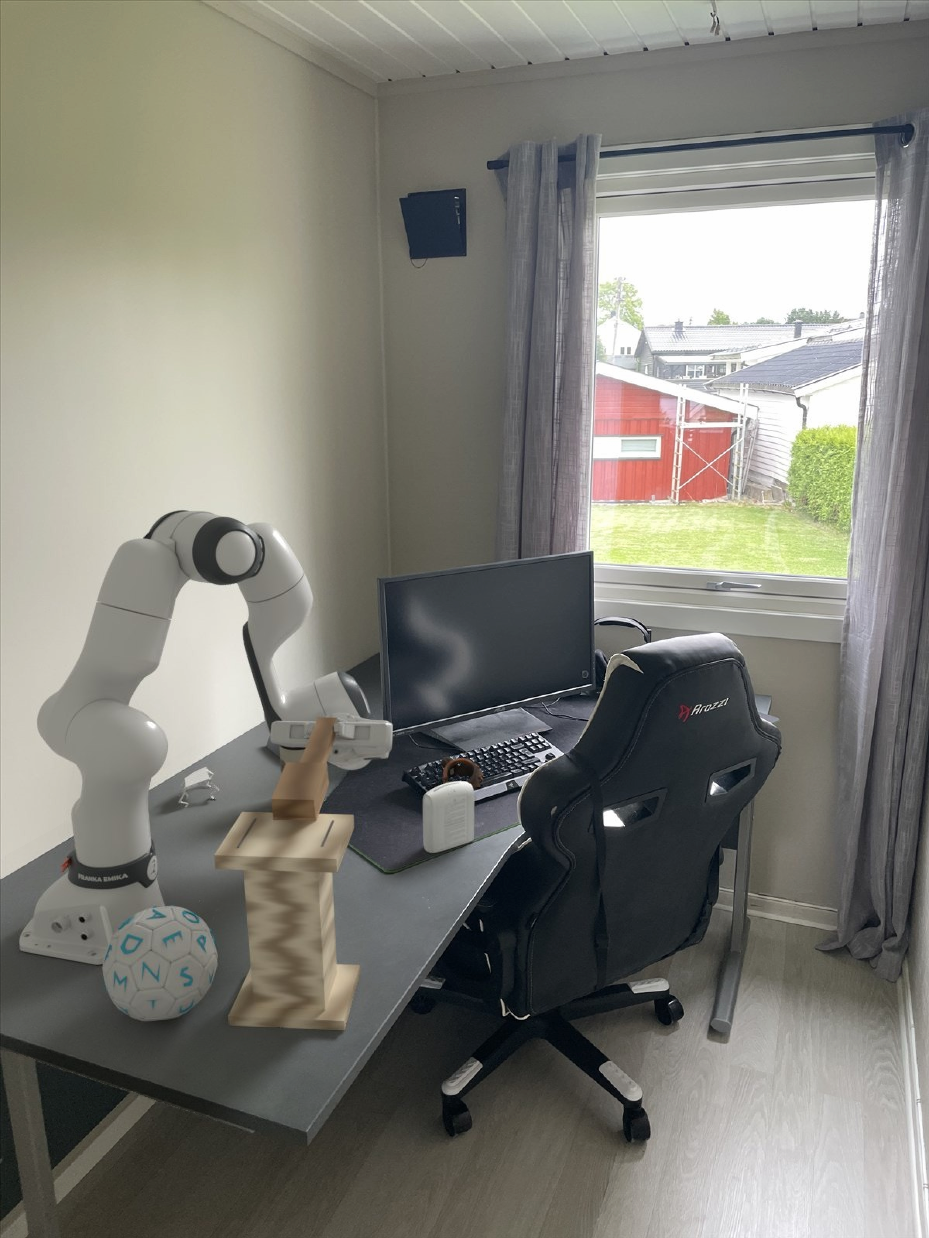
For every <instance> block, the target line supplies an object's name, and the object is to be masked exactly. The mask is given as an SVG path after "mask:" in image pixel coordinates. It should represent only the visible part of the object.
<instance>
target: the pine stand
mask: <svg viewBox="0 0 929 1238" xmlns="http://www.w3.org/2000/svg"><path fill="white" fill-rule="evenodd" d="M239 814H240V815H239V816H238V817H237V819H236V821H235V822H234V823H233V826H232V827H231V828H230V830H229V831H228V833H227V835H226V836H225V838H224V839H223V841H222V842H221V844H220V845H219V847H218V849H217V850H216V852H215V853H214V855H213V859H214V868H215V870H231V871H232V870H236V871H238V870H239V871H242V873H243V883H244V884H243V885H244V896H245V907H246V908H245V909H246V910H245V911H246V920H247V921H246V923H247V936H248V946H249V947H248V948H249V960H250V968H249V970H248V973H247V974H246V976H245V979H244V981H243V983H242V986H241V987H240V990H239V992H238V994H237V997H236V998H235V1001H234V1003H233V1005H232V1007H231V1010H230V1011H229V1013H228V1015H227V1019H228V1026H230V1027H231V1026H232V1027H255V1028H256V1027H257V1028H260V1027H261V1028H276V1027H277V1028H276V1029H282V1027H283V1029H303V1030H304V1029H305V1030H328V1031H346V1026H347V1024H346V1023H347V1022H348V1020H349V1016H350V1012H351V1009H350V1008H352V1004H353V1002H354V998H353V997H355V995H354V993H355V994H356V991H355V989H357V987H358V984H357V982H358V983H359V980H360V977H359V975H360V976H361V965H360V964H340V963H338V962H337V945H336V944H337V943H336V925H335V924H336V922H335V920H336V919H335V903H334V886H333V885H334V881H333V880H334V878H333V874H334V873H335V874H337V873H338V871H339V869H340V865H341V864H342V861H343V858H344V856H345V854H346V851H347V848H348V845H349V842H350V839H351V837H352V834H353V833H354V832H353V831H354V829H355V816H354V814H343V813H342V814H337V813H333V814H332V813H319V815H318V818H317V821H299V820H273V812H267V811H266V812H265V811H264V812H261V811H260V812H259V811H241V813H239ZM358 979H359V980H358ZM356 986H357V987H356ZM352 1001H353V1002H352ZM278 1027H280V1028H278Z"/></svg>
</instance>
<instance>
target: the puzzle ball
mask: <svg viewBox="0 0 929 1238" xmlns="http://www.w3.org/2000/svg"><path fill="white" fill-rule="evenodd" d="M212 932H213V931H212V928H209V925H208V924H207V922H205V921H204V920H203V918H202V917H201V916H198V915H197V914H196V913H195V912H193V911H191V910H189V909H187V908H184V907H182V906H175V905H174V904H170V905H167V906H166V905H165V906H163V907H157V906H154V907H152V908H149V909H146V910H143V911H141V912H139V913H137V914H135V915H134V916H133V917H131V918H130V919H128V920H127V921H125V922H124V923H122V925H121V926H120V927H119V928H118V930H117V931H116V932H115V934H114V935H113V936H112V938H111V940H110V942H109V944H108V947H107V949H106V952H105V955H104V959H103V964H102V975H103V977H102V978H103V984H104V988H105V991H106V993H107V995H108V997H109V998H110V1000H111V1001H112V1003H113V1005H115V1006H116V1008H117V1009H118V1010H119V1011H121V1012H122V1013H124V1014H125V1015H127V1016H129V1017H130V1018H132V1019H134V1020H139V1021H141V1022H152V1021H163V1020H164V1021H165V1020H171V1019H176V1018H179V1017H181V1016H182V1015H184V1014H186V1013H188V1012H189V1011H190V1010H191V1009H193V1007H195V1006H196V1005H197V1004H198V1003H199V1002H200V1001H201V1000H202V999H203V998H204V997H205V996H206V993H208V991H209V989H210V988H211V986H212V983H213V981H214V977H215V974H216V972H217V971H216V970H217V968H218V963H219V962H218V952H217V948H218V946H217V941H216V939H215V936H214V933H212Z"/></svg>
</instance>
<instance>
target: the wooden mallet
mask: <svg viewBox="0 0 929 1238" xmlns="http://www.w3.org/2000/svg"><path fill="white" fill-rule="evenodd" d="M334 723H338V718H332V717H318V719H317V721H316V723H315V726H314V728H313V731H312V733H311V736H310V738H309V741H308V743H307V746H306V748H305V751H304V753H303V756H302V758H301V761H300V763H299V762H286V765H285V767H284V769H283V772H282V774H281V773H280V777H279V779H278V781H277V783H276V786H275V788H274V791H273V793H272V795H271V798H270V802H271V803H270V804H271V810H272V813H273V820H299V821H317V818H318V815H319V814H320V812H321V811H320V810H321V808H322V805H323V802H324V799H325V797H326V794H327V791H328V788H329V785H330V780H329V769H328V766H327V760H328V757H329V755H330V752H331V749H332V746H333V743H334V741H335V738H336V736H335V735H334V733H333V731H334V729H335V728H334Z"/></svg>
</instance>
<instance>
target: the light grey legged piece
mask: <svg viewBox="0 0 929 1238" xmlns="http://www.w3.org/2000/svg"><path fill="white" fill-rule="evenodd" d="M213 775H214V773H213V772H212V771H211V770H209V769H208V767H207V766H204V767H202V768H200V769H198V770H196V771H193V772H191V773H190V774H189V775H188V776H186V777H183V782H182V783H181V785H180V789H181V791H182V795H180V798H179V800H178V802H177V803H178V804H184V805H185V806H184V807H186V808H187V807H188V805H189V802H185V801H182V800H183V798H184V796H186V798H187V799H188V798H189V794H188V792H187V790H189V789H192V788H194V787H196V786H199V785H201V784H205V783H206V787H208V788H210V787H211V786H212V788H214V791H212V792H211V793H210V794H209V797H210V798H211V799H212V800H213V799H214V798H215V797H214V795H216V794H217V793H219V792H220V789H219V787H217V786H216V785H215V784H214V783H213V782H212V778H213ZM209 784H210V785H209ZM184 785H185V786H184Z"/></svg>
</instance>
